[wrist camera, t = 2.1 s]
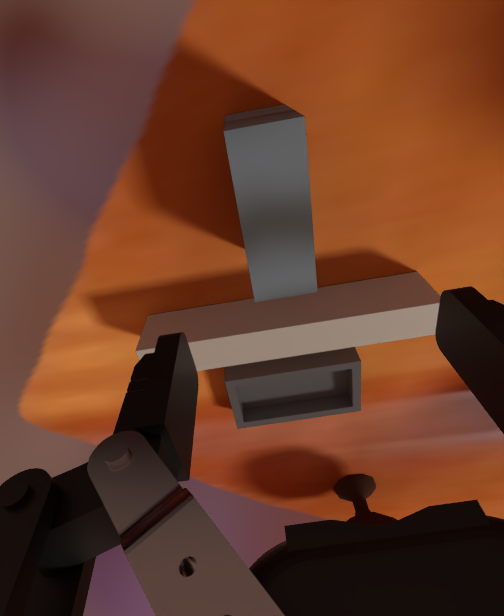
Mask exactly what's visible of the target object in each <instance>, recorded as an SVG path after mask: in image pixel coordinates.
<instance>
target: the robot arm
mask: <svg viewBox="0 0 504 616" xmlns="http://www.w3.org/2000/svg"><path fill="white" fill-rule="evenodd" d="M435 335H436V341H437V344H438V347H439V349H440V350H441V352H442V353H443V355H444V356H445V357H446V359H447V360H448V361H449V362H450V364H451V365H452V366H453V368H454V369H455V370H456V372H457V373H458V374H459V376H460V377H461V378H462V380H463V381H464V382H465V384H466V385H467V386H468V388H469V389H470V390H471V392H472V393H473V394H474V395H475V397H476V398H477V399H478V401H479V402H480V403H481V405H482V406H483V407H484V409H485V410H486V411H487V413H488V414H489V415H490V417H491V418H492V419H493V421H494V422H495V423H496V424H497V426H498V427H499V428H500V430H501V431H502V432H503V434H504V305H503V304H501V303H499V302H496V301H494V300H487V299H486V298H485V297H484V296H483V295H482V294H481V293H479V292H478V291H477V290H476V289H475V288H473V287H463V288H457V289H451V290H445V291H443V292H442V294H441V297H440V303H439V310H438V317H437V324H436V331H435ZM197 395H198V375H197V370H196V366H195V363H194V360H193V357H192V354H191V351H190V348H189V345H188V342H187V338H186V336H185V334H184V332H179V333H173V334H166V335H160V336H159V337H158V340H157V344H156V348H155V351H154V353H148V354H144V356H143V357H142V358H141V359H140V361H139V362H138V363H137V364H136V365H135V367H134V370H133V373H132V376H131V382H130V383H129V386H128V389H127V393H126V395H125V398H124V401H123V405H122V408H121V411H120V414H119V417H118V420H117V423H116V427H115V430H114V433H113V435H111V436H109V437H108V438H106V439H105V440H103V441H102V442H101V443H100V444H99V445H98V446H97V447H96V448H95V450H94V451H93V452H92V454H91V456H90V458H89V461H88V462H87V463H85V464H83V465H81V466H79V467H76V468H74V469H72V470H69V471H67V472H65V473H62V474H60V475H58V476H55V477H53V478H51V476H50V475H49V474H48V473H47V472H46V471H45V470H43V469H38V468H35V469H28V470H25V471H22V472H20V473H18V474H16V475H14V476H13V477H11V478H9V479H8V480H7V481H5V482H4V483H3V484H2V485H1V486H0V616H83V613H84V608H85V604H86V599H87V595H88V590H89V586H90V581H91V577H92V572H93V568H94V563H95V559H96V556H97V555H99V554H101V553H103V552H106V551H108V550H110V549H112V548H114V547H116V546H118V545H120V544H121V546H122V548H123V550H124V553H125V555H126V557H127V559H128V561H129V562H130V565H131V567H132V569H133V570H134V573H135V575H136V577H137V579H138V581H139V583H140V584H141V587H142V589H143V591H144V593H145V594H146V597H147V599H148V601H149V603H150V605H151V607H152V609H153V611H154V613H155V615H156V616H504V519H500V518H496V517H491V516H486V515H485V513H484V511H483V510H482V508H481V506H480V505H479V503H478V501H477V500H472V501H464V502H457V503H450V504H442V505H435V506H428V507H426V508H424V509H422V510H420V511H418V512H415V513H413V514H411V515H409V516H407V517H404V518H402V519H400V520H398V521H396V522H394V523H391V524H389V525H386V526H375V525H367V524H360V523H352V522H345V521H337V520H325V521H318V522H311V523H303V524H296V525H289V526H285V533H286V541H284V542H282V543H280V544H278V545H276V546H275V547H273V548H271V549H270V550H268V551H267V552H266V553H265V554H263V555H262V556H261V557H260V558H259V559H257V561H256V562H255V563H254V564H253V565H252V566H251V567H250V568H248V567H247V566H246V564H245V563H244V562H243V560H242V559H241V558H240V557H239V555H238V554H237V553H236V551H235V550H234V549H233V547H232V546H231V545H230V543H229V542H228V541H227V540H226V538H225V537H224V536H223V534H222V533H221V532H220V530H219V529H218V528H217V527H216V525H215V524H214V523H213V521H212V520H211V519H210V517H209V516H208V515H207V513H206V512H205V511H204V509H203V508H202V507H201V506H200V504H199V503H198V502H197V500H196V499H195V498H194V496H193V495H192V494H191V493H190V492H189V490H187V489H186V488H184V489H183V488H182V487H181V486H180V484H179V483H178V482H179V481H187V480H189V477H190V467H191V456H192V446H193V436H194V426H195V415H196V405H197Z"/></svg>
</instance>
